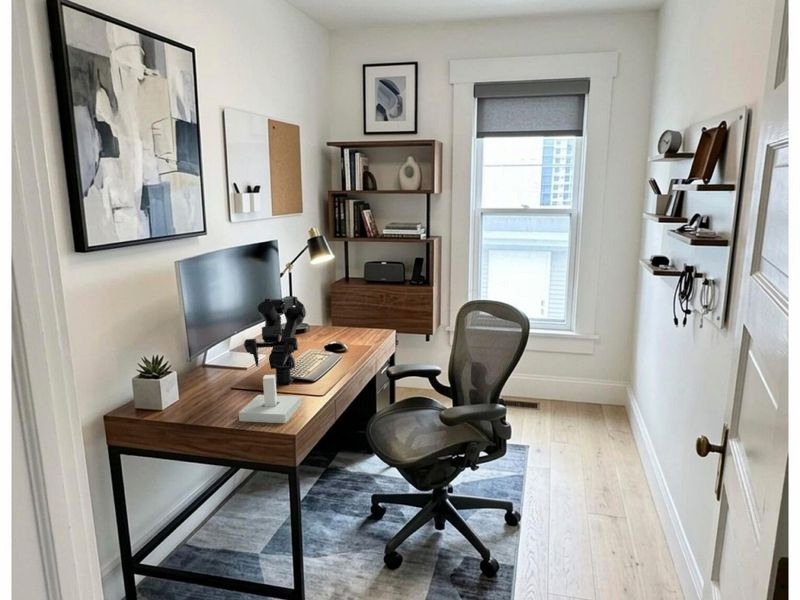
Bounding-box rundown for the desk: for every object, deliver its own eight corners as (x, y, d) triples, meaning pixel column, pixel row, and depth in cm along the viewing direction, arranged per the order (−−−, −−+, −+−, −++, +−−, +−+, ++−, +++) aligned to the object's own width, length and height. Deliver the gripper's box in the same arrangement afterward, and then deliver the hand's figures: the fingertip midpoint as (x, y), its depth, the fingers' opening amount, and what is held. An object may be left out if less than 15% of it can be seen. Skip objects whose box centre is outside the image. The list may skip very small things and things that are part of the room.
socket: (259, 402, 192) (258, 394, 192) (301, 404, 190) (301, 396, 189) (239, 421, 177) (238, 412, 176) (285, 423, 174) (284, 414, 174)
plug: (267, 410, 185) (264, 375, 182) (277, 410, 185) (275, 374, 183) (265, 414, 181) (262, 378, 179) (276, 414, 182) (273, 378, 179)
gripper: (242, 317, 192) (238, 356, 183) (295, 315, 193) (293, 353, 184) (248, 333, 201) (245, 370, 192) (298, 331, 202) (297, 368, 194)
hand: (270, 365), depth 190 cm, fingers open, 9 cm apart
